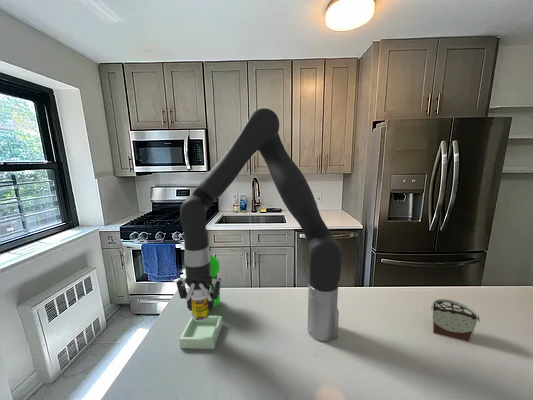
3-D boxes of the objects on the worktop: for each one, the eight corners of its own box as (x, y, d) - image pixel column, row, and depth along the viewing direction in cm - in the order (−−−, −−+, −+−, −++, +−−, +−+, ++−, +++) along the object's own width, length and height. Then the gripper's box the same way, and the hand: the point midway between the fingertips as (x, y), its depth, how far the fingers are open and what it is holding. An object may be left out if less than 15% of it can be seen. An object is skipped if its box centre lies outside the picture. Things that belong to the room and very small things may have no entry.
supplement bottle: (195, 324, 70) (193, 294, 68) (190, 314, 75) (188, 286, 73) (212, 317, 73) (211, 288, 71) (206, 308, 78) (205, 280, 76)
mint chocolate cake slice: (468, 330, 76) (473, 303, 74) (475, 344, 70) (480, 315, 69) (424, 320, 81) (427, 294, 79) (427, 332, 75) (431, 305, 74)
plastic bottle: (211, 295, 97) (207, 239, 93) (226, 305, 90) (224, 246, 86) (189, 307, 90) (185, 246, 85) (205, 319, 83) (200, 254, 78)
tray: (222, 324, 80) (221, 315, 79) (214, 349, 70) (213, 339, 69) (192, 323, 80) (191, 315, 80) (180, 348, 70) (179, 338, 69)
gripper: (223, 255, 74) (225, 302, 77) (179, 255, 74) (183, 301, 77) (217, 266, 66) (220, 317, 69) (169, 265, 67) (173, 316, 70)
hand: (200, 309), depth 73 cm, fingers closed on supplement bottle, 5 cm apart
